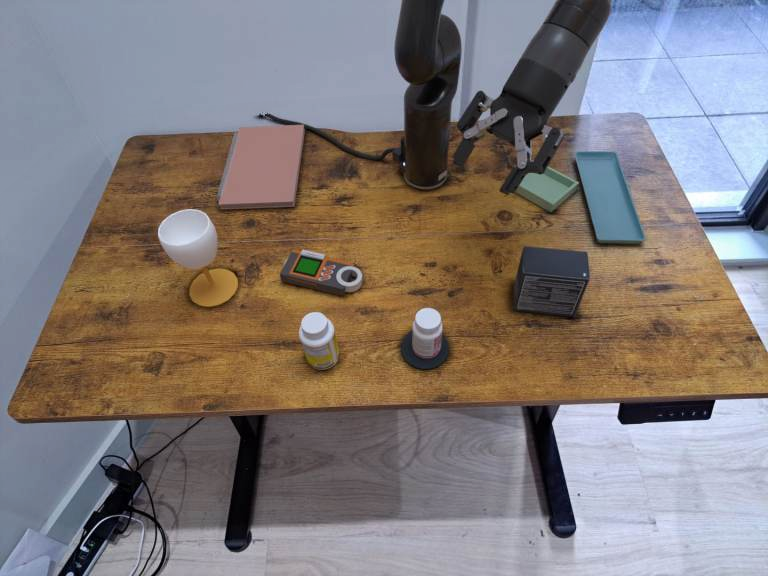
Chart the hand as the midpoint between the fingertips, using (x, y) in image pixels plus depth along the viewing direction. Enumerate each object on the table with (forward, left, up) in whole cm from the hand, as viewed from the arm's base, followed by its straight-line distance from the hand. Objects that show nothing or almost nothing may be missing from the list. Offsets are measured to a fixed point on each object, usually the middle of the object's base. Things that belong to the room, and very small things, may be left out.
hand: (479, 179), depth 72 cm
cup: (-34, -32, -26) cm, 53 cm away
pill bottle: (+4, -14, -25) cm, 29 cm away
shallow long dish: (+5, +38, -26) cm, 46 cm away
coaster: (+3, -14, -26) cm, 29 cm away
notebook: (-56, -5, -26) cm, 61 cm away
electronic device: (-21, -16, -26) cm, 37 cm away
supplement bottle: (-8, -27, -26) cm, 38 cm away
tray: (-6, +32, -26) cm, 41 cm away
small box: (+11, +8, -26) cm, 29 cm away
